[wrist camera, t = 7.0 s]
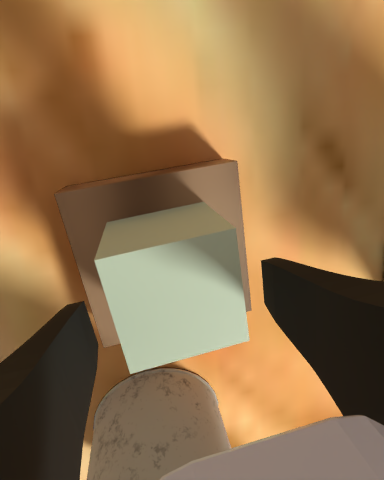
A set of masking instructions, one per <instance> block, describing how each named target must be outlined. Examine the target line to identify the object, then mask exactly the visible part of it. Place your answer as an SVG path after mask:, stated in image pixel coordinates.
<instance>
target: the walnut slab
mask: <svg viewBox="0 0 384 480" xmlns="http://www.w3.org/2000/svg"><path fill="white" fill-rule="evenodd" d="M54 195H55V198H56V201H57V204H58V207H59V211H60V214H61V217H62V220H63V223H64V226H65V229H66V232H67V235H68V238H69V242H70V245H71V248H72V251H73V254H74V257H75V260H76V263H77V266H78V269H79V273H80V276H81V279H82V282H83V285H84V288H85V291H86V294H87V297H88V300H89V304H90V307H91V310H92V313H93V316H94V319H95V322H96V325H97V328H98V332H99V335H100V338H101V341H102V344H103V347H104V348H105V347H109V346H113V345H117V344H121V343H120V340H119V337H118V334H117V331H116V328H115V324H114V321H113V318H112V315H111V312H110V309H109V305H108V302H107V299H106V296H105V293H104V290H103V287H102V283H101V280H100V277H99V274H98V271H97V268H96V264H95V261H94V259H95V256H96V253H97V250H98V247H99V244H100V241H101V238H102V235H103V232H104V229H105V226H106V223H107V222H110V221H115V220H120V219H124V218H129V217H134V216H139V215H143V214H148V213H153V212H157V211H162V210H167V209H171V208H176V207H181V206H186V205H190V204H195V203H200V202H205V203H206V204H207V205H208V206H209V207H211V208H212V209H213V210H214V211H216V212H217V213H218V214H219V215H220V216H222V217H223V218H224V219H225V220H227V221H228V222H229V223H230V224H231V225H233V226H234V227H235V228H236V234H237V242H238V250H239V259H240V267H241V275H242V283H243V291H244V300H245V308H246V312H247V311H251V300H250V290H249V279H248V269H247V258H246V248H245V237H244V227H243V216H242V206H241V195H240V185H239V174H238V164H237V161H234V160H228V159H218V160H212V161H207V162H201V163H195V164H190V165H184V166H178V167H173V168H167V169H162V170H156V171H150V172H145V173H139V174H133V175H128V176H122V177H117V178H111V179H105V180H100V181H94V182H88V183H83V184H77V185H72V186H66V187H64V188H63V189H61V190H60V191H58V192H56V193H55V194H54Z"/></svg>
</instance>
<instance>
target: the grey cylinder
mask: <svg viewBox="0 0 384 480" xmlns="http://www.w3.org/2000/svg"><path fill="white" fill-rule="evenodd" d="M93 429H94V433H93V440H92V447H91V454H90V461H89V468H88V475H87V480H160V479H161V477H162V476H164V475H166V474H168V473H169V472H171V471H173V470H175V469H177V468H179V467H181V466H183V465H185V464H187V463H189V462H191V461H193V460H196V459H200V458H203V457H206V456H209V455H212V454H216V453H219V452H222V451H225V450H228V449H231V446H230V443H229V439H228V436H227V433H226V430H225V427H224V424H223V420H222V417H221V414H220V411H219V408H218V401H217V398H216V395H215V392H214V390H213V389H212V388H211V386H210V385H209V383H208V382H206V381H205V380H204V379H202V378H201V377H200V376H198V375H196V374H194V373H191V372H189V371H186V370H181V369H176V368H158V369H152V370H147V371H143V372H140V373H138V374H135V375H132V376H130V377H128V378H127V379H125V380H123V381H121V382H120V383H118V384H117V385H116V386H115V387H113V388H112V389H111V390H110V391H109V392H108V393H107V394H106V395H105V397H104V398H103V399H102V401H101V402H100V404H99V406H98V408H97V411H96V413H95V416H94V426H93Z"/></svg>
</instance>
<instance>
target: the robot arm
mask: <svg viewBox="0 0 384 480" xmlns="http://www.w3.org/2000/svg"><path fill="white" fill-rule="evenodd" d="M261 265H262V278H263V290H264V303H265V305H266V307H267V308H268V310H269V312H270V314H271V315H272V317H273V319H274V320H275V322H276V323H277V324H278V326H279V327H280V328H281V330H282V331H283V332H284V333H285V335H286V336H287V337H288V338H289V339H290V341H291V342H292V343H293V344H294V346H295V347H296V348H297V349H298V351H299V352H300V353H301V354H302V356H303V357H304V358H305V359H306V360H307V362H308V363H309V364H310V366H311V367H312V368H313V370H314V371H315V372H316V374H317V375H318V377H319V378H320V380H321V381H322V383H323V384H324V386H325V387H326V389H327V390H328V392H329V394H330V395H331V397H332V398H333V400H334V401H335V403H336V405H337V406H338V408H339V410H340V411H341V413H342V414H343V416H342V417H332V418H328V419H325V420H321V421H318V422H315V423H312V424H309V425H305V426H302V427H299V428H296V429H293V430H289V431H286V432H283V433H280V434H277V435H273V436H270V437H267V438H264V439H260V440H257V441H254V442H251V443H248V444H244V445H241V446H238V447H235V448H232V449H228V450H225V451H222V452H219V453H216V454H212V455H209V456H206V457H203V458H200V459H196V460H193V461H191V462H189V463H187V464H185V465H183V466H181V467H179V468H177V469H175V470H173V471H171V472H169V473H168V474H166V475H164V476H162V477H161V479H160V480H384V282H382V281H374V280H368V279H362V278H356V277H351V276H346V275H341V274H337V273H333V272H329V271H325V270H321V269H317V268H314V267H310V266H307V265H303V264H300V263H296V262H293V261H289V260H285V259H281V258H271V259H266V260H262V261H261ZM97 359H98V342H97V339H96V336H95V333H94V330H93V327H92V324H91V321H90V318H89V315H88V312H87V309H86V306H85V303H84V301H82V302H78V303H73V304H69V305H67V306H65V307H64V308H63V309H62V310H60V311H59V312H58V313H57V314H56V315H55V316H54V317H53V318H52V319H51V320H49V321H48V322H47V323H46V324H45V325H44V326H43V327H42V328H41V329H40V330H39V331H38V332H37V333H35V334H34V335H33V336H32V337H31V338H30V339H29V340H27V341H26V342H25V343H24V344H23V345H22V346H20V347H19V348H18V349H17V350H16V351H15V352H13V353H12V354H11V355H10V356H9V357H7V358H6V359H5V360H4V361H2V362H1V363H0V480H80V468H81V457H82V447H83V438H84V432H85V426H86V421H87V416H88V411H89V406H90V401H91V396H92V391H93V386H94V381H95V376H96V370H97Z"/></svg>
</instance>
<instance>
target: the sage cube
mask: <svg viewBox="0 0 384 480" xmlns="http://www.w3.org/2000/svg"><path fill="white" fill-rule="evenodd" d="M94 261H95V264H96V268H97V271H98V274H99V277H100V280H101V283H102V287H103V290H104V293H105V296H106V299H107V302H108V305H109V309H110V312H111V315H112V318H113V321H114V324H115V328H116V331H117V334H118V337H119V340H120V343H121V346H122V350H123V353H124V356H125V359H126V362H127V365H128V369H129V372H130V374H133V373H136V372H140V371H143V370H147V369H150V368H154V367H157V366H161V365H164V364H168V363H172V362H175V361H179V360H182V359H186V358H189V357H193V356H196V355H200V354H203V353H207V352H211V351H214V350H218V349H221V348H225V347H228V346H232V345H235V344H239V343H242V342H246V341H249V332H248V324H247V316H246V308H245V300H244V291H243V283H242V275H241V267H240V259H239V250H238V242H237V234H236V228H235V227H234V226H233V225H231V224H230V223H229V222H228V221H227V220H225V219H224V218H223V217H222V216H220V215H219V214H218V213H217V212H216V211H214V210H213V209H212V208H211V207H209V206H208V205H207V204H206V203H205V202H200V203H195V204H190V205H186V206H181V207H176V208H171V209H167V210H162V211H157V212H153V213H148V214H143V215H139V216H134V217H129V218H124V219H120V220H115V221H110V222H107V223H106V226H105V229H104V232H103V235H102V238H101V241H100V244H99V247H98V250H97V253H96V256H95V259H94Z"/></svg>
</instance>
